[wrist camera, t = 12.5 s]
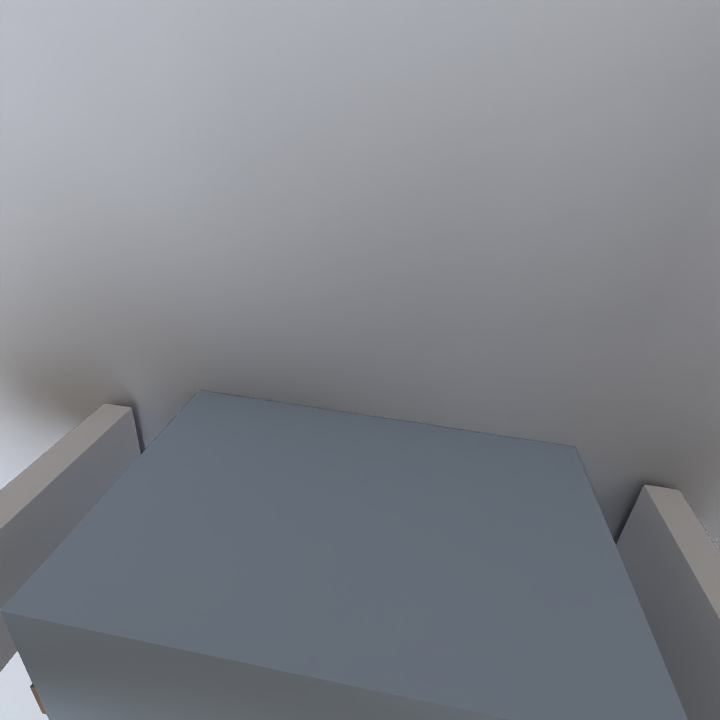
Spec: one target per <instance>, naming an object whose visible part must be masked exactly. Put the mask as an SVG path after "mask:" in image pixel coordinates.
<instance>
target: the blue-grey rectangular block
mask: <svg viewBox="0 0 720 720" xmlns="http://www.w3.org/2000/svg"><path fill="white" fill-rule="evenodd" d="M0 613H1V615H2V617H3V619H4V621H5V624H6V626H7V628H8V630H9V632H10V635H11V637H12V639H13V641H14V643H15V646H16V648H17V650H18V652H19V654H20V657H21V659H22V661H23V663H24V665H25V668H26V670H27V672H28V674H29V676H30V679H31V681H32V683H33V685H34V688H35V690H36V692H37V694H38V696H39V699H40V701H41V703H42V705H43V707H44V710H45V712H46V714H47V716H48V718H49V720H688V719H687V716H686V714H685V711H684V709H683V707H682V704H681V702H680V699H679V697H678V694H677V692H676V690H675V687H674V685H673V682H672V680H671V678H670V675H669V673H668V670H667V668H666V665H665V663H664V661H663V658H662V656H661V653H660V651H659V648H658V646H657V644H656V641H655V639H654V636H653V634H652V632H651V629H650V627H649V624H648V622H647V619H646V617H645V615H644V612H643V610H642V607H641V605H640V603H639V600H638V598H637V595H636V593H635V590H634V588H633V586H632V583H631V581H630V578H629V576H628V574H627V571H626V569H625V566H624V564H623V561H622V559H621V557H620V554H619V552H618V549H617V547H616V545H615V542H614V540H613V537H612V535H611V532H610V530H609V528H608V525H607V523H606V520H605V518H604V516H603V513H602V511H601V508H600V506H599V503H598V501H597V499H596V496H595V494H594V491H593V489H592V487H591V484H590V482H589V479H588V477H587V474H586V472H585V470H584V467H583V465H582V462H581V460H580V458H579V455H578V453H577V450H576V448H575V447H573V446H567V445H560V444H553V443H547V442H540V441H533V440H527V439H520V438H513V437H507V436H500V435H494V434H487V433H480V432H474V431H467V430H460V429H454V428H447V427H440V426H434V425H427V424H421V423H414V422H407V421H401V420H394V419H387V418H381V417H374V416H367V415H361V414H354V413H348V412H341V411H334V410H328V409H321V408H314V407H308V406H301V405H294V404H288V403H281V402H274V401H268V400H261V399H255V398H248V397H241V396H235V395H228V394H221V393H215V392H208V391H201V390H199V391H198V392H197V393H196V395H195V396H194V397H193V398H192V399H191V400H190V401H189V402H188V403H187V404H186V406H185V407H184V408H183V409H182V410H181V411H180V412H179V413H178V414H177V416H176V417H175V418H174V419H173V420H172V421H171V422H170V423H169V424H168V425H167V427H166V428H165V429H164V430H163V431H162V432H161V433H160V434H159V435H158V437H157V438H156V439H155V440H154V441H153V442H152V443H151V444H150V445H149V446H148V448H147V449H146V450H145V451H144V452H143V453H142V454H141V455H140V456H139V458H138V459H137V460H136V461H135V462H134V463H133V464H132V465H131V466H130V468H129V469H128V470H127V471H126V472H125V473H124V474H123V475H122V476H121V477H120V479H119V480H118V481H117V482H116V483H115V484H114V485H113V486H112V487H111V489H110V490H109V491H108V492H107V493H106V494H105V495H104V496H103V497H102V498H101V500H100V501H99V502H98V503H97V504H96V505H95V506H94V507H93V508H92V510H91V511H90V512H89V513H88V514H87V515H86V516H85V517H84V518H83V519H82V521H81V522H80V523H79V524H78V525H77V526H76V527H75V528H74V529H73V531H72V532H71V533H70V534H69V535H68V536H67V537H66V538H65V539H64V541H63V542H62V543H61V544H60V545H59V546H58V547H57V548H56V549H55V550H54V552H53V553H52V554H51V555H50V556H49V557H48V558H47V559H46V560H45V562H44V563H43V564H42V565H41V566H40V567H39V568H38V569H37V570H36V571H35V573H34V574H33V575H32V576H31V577H30V578H29V579H28V580H27V581H26V583H25V584H24V585H23V586H22V587H21V588H20V589H19V590H18V591H17V592H16V594H15V595H14V596H13V597H12V598H11V599H10V600H9V601H8V602H7V604H6V605H5V606H4V607H3V608H2V609H1V610H0Z"/></svg>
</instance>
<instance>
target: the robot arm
mask: <svg viewBox="0 0 720 720" xmlns="http://www.w3.org/2000/svg"><path fill="white" fill-rule="evenodd" d="M140 455H141V453H140V448H139V442H138V437H137V432H136V427H135V421H134V416H133V411H132V407H126V406H119V405H112V404H106V403H104V404H103V405H102V406H100V407H99V408H98V409H97V410H96V411H94V412H93V413H92V414H91V415H90V416H88V417H87V418H86V419H85V420H84V421H82V422H81V423H80V424H79V425H78V426H77V427H75V428H74V429H73V430H72V431H71V432H69V433H68V434H67V435H66V436H65V437H63V438H62V439H61V440H60V441H59V442H57V443H56V444H55V445H54V446H53V447H51V448H50V449H49V450H48V451H47V452H45V453H44V454H43V455H42V456H41V457H39V458H38V459H37V460H36V461H35V462H34V463H32V464H31V465H30V466H29V467H28V468H26V469H25V470H24V471H23V472H22V473H20V474H19V475H18V476H17V477H16V478H14V479H13V480H12V481H11V482H10V483H8V484H7V485H6V486H5V487H4V488H2V489H1V490H0V610H1V609H2V608H3V607H4V606H5V605H6V604H7V602H8V601H9V600H10V599H11V598H12V597H13V596H14V595H15V594H16V592H17V591H18V590H19V589H20V588H21V587H22V586H23V585H24V584H25V583H26V581H27V580H28V579H29V578H30V577H31V576H32V575H33V574H34V573H35V571H36V570H37V569H38V568H39V567H40V566H41V565H42V564H43V563H44V562H45V560H46V559H47V558H48V557H49V556H50V555H51V554H52V553H53V552H54V550H55V549H56V548H57V547H58V546H59V545H60V544H61V543H62V542H63V541H64V539H65V538H66V537H67V536H68V535H69V534H70V533H71V532H72V531H73V529H74V528H75V527H76V526H77V525H78V524H79V523H80V522H81V521H82V519H83V518H84V517H85V516H86V515H87V514H88V513H89V512H90V511H91V510H92V508H93V507H94V506H95V505H96V504H97V503H98V502H99V501H100V500H101V498H102V497H103V496H104V495H105V494H106V493H107V492H108V491H109V490H110V489H111V487H112V486H113V485H114V484H115V483H116V482H117V481H118V480H119V479H120V477H121V476H122V475H123V474H124V473H125V472H126V471H127V470H128V469H129V468H130V466H131V465H132V464H133V463H134V462H135V461H136V460H137V459H138V458H139V456H140ZM616 547H617V549H618V552H619V554H620V557H621V559H622V561H623V564H624V566H625V569H626V571H627V574H628V576H629V578H630V581H631V583H632V586H633V588H634V590H635V593H636V595H637V598H638V600H639V603H640V605H641V607H642V610H643V612H644V615H645V617H646V619H647V622H648V624H649V627H650V629H651V632H652V634H653V636H654V639H655V641H656V644H657V646H658V648H659V651H660V653H661V656H662V658H663V661H664V663H665V665H666V668H667V670H668V673H669V675H670V678H671V680H672V682H673V685H674V687H675V690H676V692H677V694H678V697H679V699H680V702H681V704H682V707H683V709H684V711H685V714H686V716H687V719H688V720H720V552H719V550H718V549H717V547H716V546H715V544H714V542H713V541H712V539H711V538H710V536H709V535H708V533H707V532H706V530H705V529H704V527H703V526H702V524H701V522H700V521H699V519H698V518H697V516H696V515H695V513H694V512H693V510H692V509H691V507H690V506H689V504H688V502H687V501H686V499H685V498H684V496H683V495H682V493H681V492H680V490H677V489H671V488H664V487H657V486H651V485H644V486H643V488H642V490H641V492H640V494H639V496H638V499H637V501H636V503H635V505H634V507H633V509H632V512H631V514H630V516H629V518H628V520H627V522H626V524H625V527H624V529H623V531H622V533H621V535H620V537H619V540H618V542H617V544H616ZM16 652H17V648H16V646H15V643H14V641H13V639H12V637H11V635H10V632H9V630H8V628H7V626H6V624H5V621H4V619H3V617H2V615H1V613H0V672H1V670H2V669H3V668H4V667H5V665H6V664H7V663H8V662H9V660H10V659H11V658H12V657H13V655H14V654H15V653H16Z"/></svg>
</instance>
